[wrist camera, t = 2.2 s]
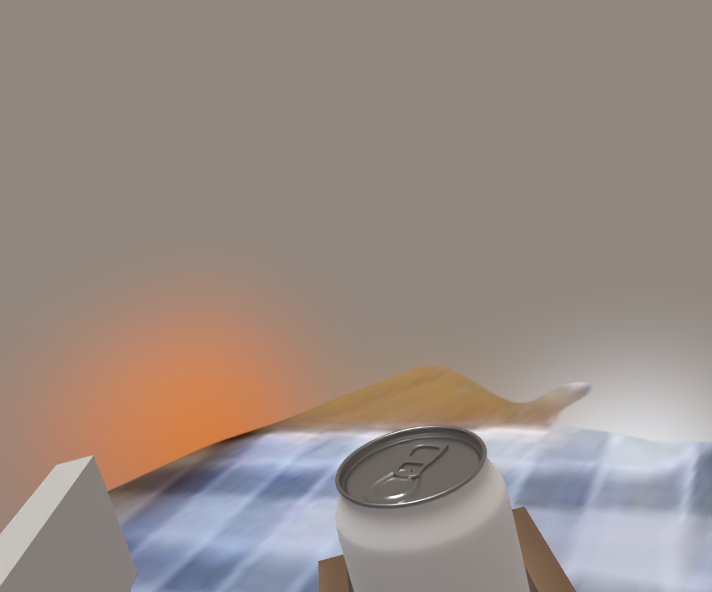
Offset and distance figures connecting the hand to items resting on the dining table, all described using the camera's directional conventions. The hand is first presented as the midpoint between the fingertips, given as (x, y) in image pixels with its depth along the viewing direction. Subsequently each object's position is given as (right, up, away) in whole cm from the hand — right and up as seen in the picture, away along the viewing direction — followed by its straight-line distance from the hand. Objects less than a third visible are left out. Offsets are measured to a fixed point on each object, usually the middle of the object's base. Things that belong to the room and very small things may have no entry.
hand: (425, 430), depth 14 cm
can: (+4, -15, +14) cm, 20 cm away
